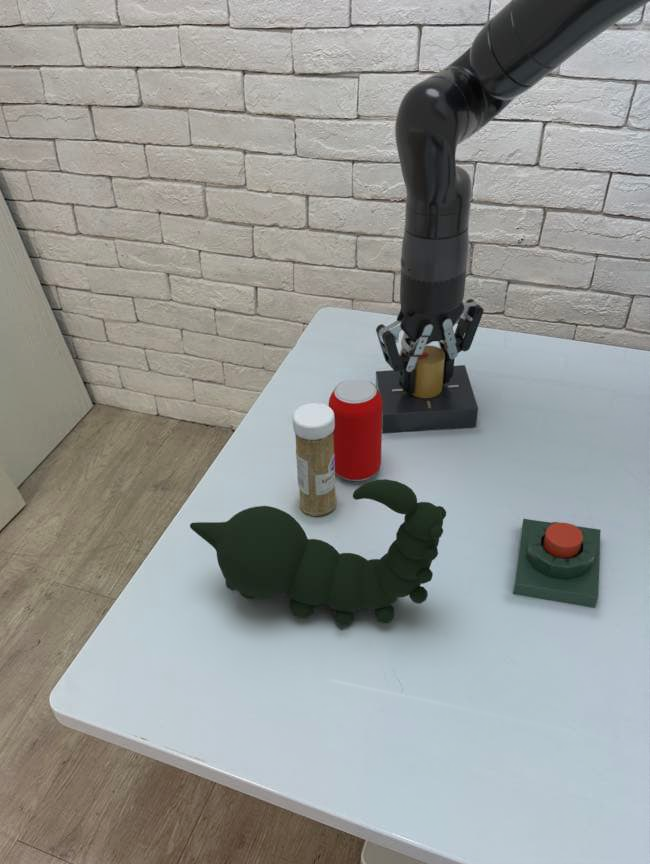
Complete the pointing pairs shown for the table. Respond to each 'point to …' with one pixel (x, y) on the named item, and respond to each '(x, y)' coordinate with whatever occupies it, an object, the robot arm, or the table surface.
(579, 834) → the table surface
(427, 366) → the knob
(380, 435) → the beverage can
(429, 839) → the table surface
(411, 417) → the panel
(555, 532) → the button
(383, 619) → the toy figurine
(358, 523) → the table surface
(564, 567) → the button box
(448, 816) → the table surface
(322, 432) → the spice jar
